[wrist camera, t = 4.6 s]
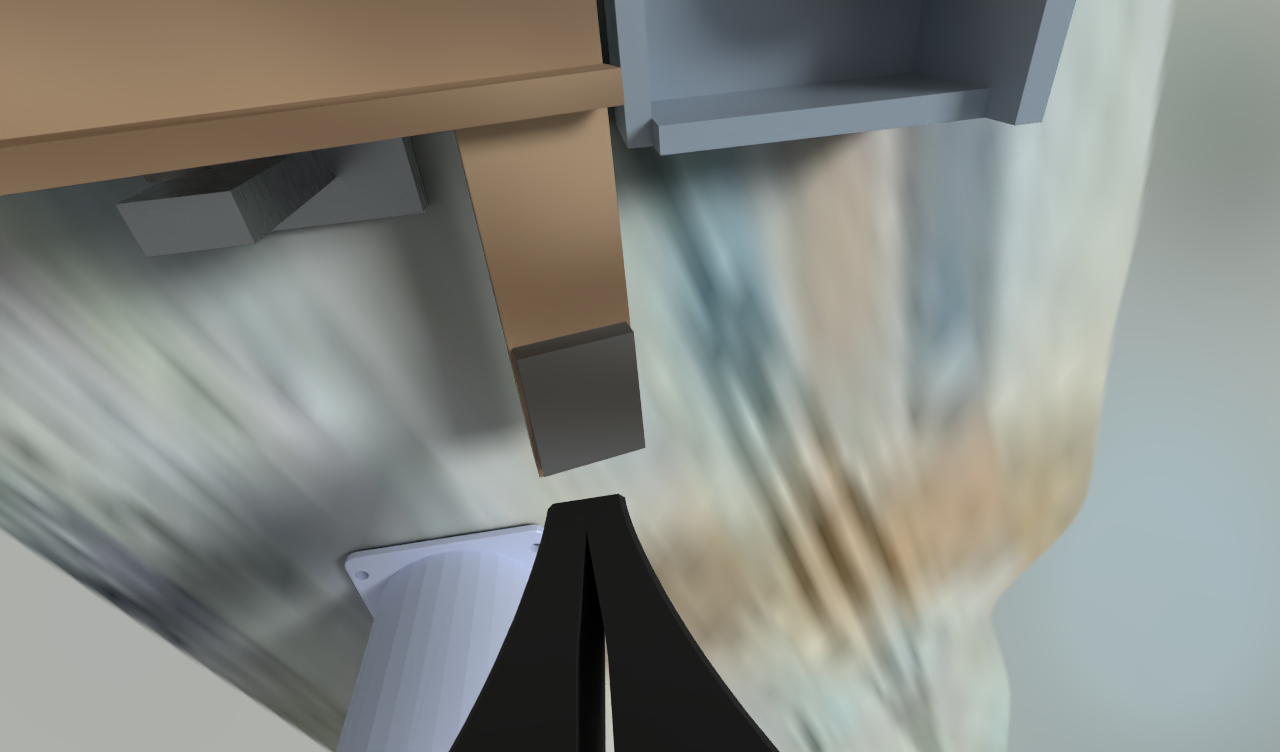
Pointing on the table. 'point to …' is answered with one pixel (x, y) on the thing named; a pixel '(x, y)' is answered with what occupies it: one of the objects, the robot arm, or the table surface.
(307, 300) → the table surface
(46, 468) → the table surface
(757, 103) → the blue-grey open box
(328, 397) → the table surface
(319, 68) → the lever
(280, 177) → the lever stand
